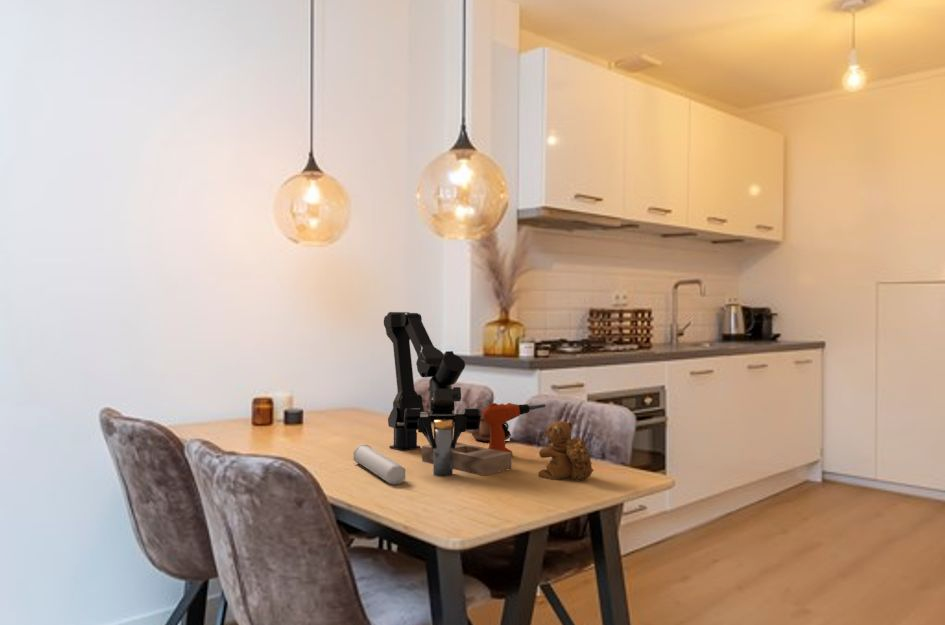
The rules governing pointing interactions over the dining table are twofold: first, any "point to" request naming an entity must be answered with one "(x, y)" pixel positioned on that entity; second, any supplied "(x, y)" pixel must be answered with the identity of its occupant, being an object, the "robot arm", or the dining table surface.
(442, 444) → the metallic cylinder
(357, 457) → the tube
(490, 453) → the grey hollow block
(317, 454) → the dining table surface
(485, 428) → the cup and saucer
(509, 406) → the toy drill
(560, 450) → the stuffed squirrel
